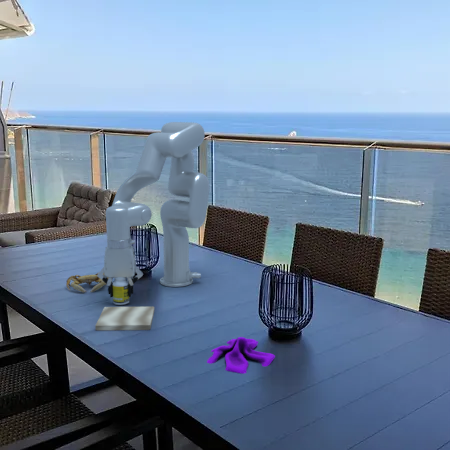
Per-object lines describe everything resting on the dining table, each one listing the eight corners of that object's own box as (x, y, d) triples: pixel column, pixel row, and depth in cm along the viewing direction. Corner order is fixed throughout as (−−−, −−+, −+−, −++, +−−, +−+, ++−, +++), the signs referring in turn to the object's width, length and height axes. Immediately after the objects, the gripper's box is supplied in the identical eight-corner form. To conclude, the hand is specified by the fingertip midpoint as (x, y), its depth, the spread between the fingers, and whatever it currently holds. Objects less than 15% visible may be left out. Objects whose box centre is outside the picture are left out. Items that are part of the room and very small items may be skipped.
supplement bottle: (125, 305, 178) (124, 277, 176) (110, 304, 179) (109, 276, 177) (131, 300, 183) (130, 272, 181) (117, 299, 184) (115, 271, 182)
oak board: (154, 310, 175) (154, 306, 174) (150, 329, 159) (150, 325, 159) (104, 311, 174) (104, 306, 173) (95, 330, 158) (95, 325, 158)
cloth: (246, 337, 156) (246, 317, 154) (290, 360, 141) (291, 338, 140) (180, 357, 143) (180, 335, 141) (222, 384, 128) (222, 360, 127)
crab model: (67, 296, 189) (66, 281, 188) (66, 285, 201) (65, 271, 200) (112, 292, 194) (111, 277, 193) (108, 281, 206) (107, 267, 205)
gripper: (146, 240, 181) (147, 291, 185) (94, 241, 180) (97, 292, 184) (144, 246, 174) (145, 299, 178) (90, 246, 173) (93, 300, 177)
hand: (121, 295), depth 181 cm, fingers closed on supplement bottle, 5 cm apart
